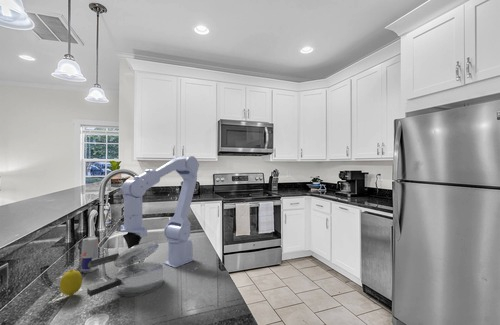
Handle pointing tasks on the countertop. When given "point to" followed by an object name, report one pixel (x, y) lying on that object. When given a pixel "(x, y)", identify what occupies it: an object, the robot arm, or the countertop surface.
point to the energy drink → (89, 253)
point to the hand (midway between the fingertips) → (133, 254)
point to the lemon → (70, 282)
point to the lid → (128, 255)
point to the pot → (133, 280)
